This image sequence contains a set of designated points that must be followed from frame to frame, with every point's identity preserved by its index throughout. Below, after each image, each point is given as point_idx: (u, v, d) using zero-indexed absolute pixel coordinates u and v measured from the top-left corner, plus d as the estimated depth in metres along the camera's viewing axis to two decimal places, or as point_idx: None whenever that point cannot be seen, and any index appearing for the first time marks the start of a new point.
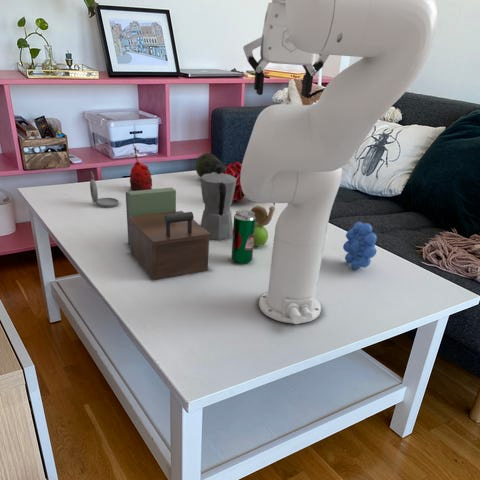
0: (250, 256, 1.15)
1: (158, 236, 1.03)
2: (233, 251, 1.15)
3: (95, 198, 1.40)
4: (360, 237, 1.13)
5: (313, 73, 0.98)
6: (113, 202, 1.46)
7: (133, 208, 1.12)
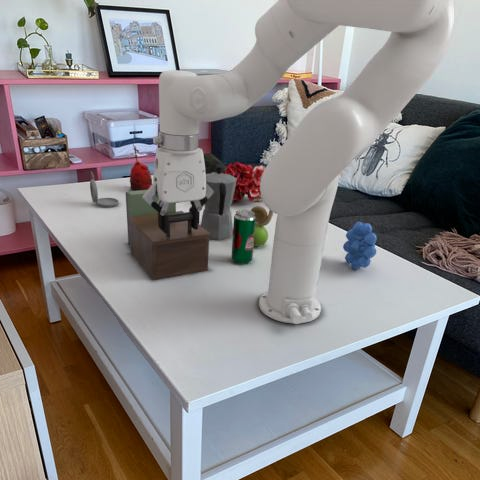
0: (250, 256, 1.15)
1: (158, 236, 1.03)
2: (233, 251, 1.15)
3: (95, 198, 1.40)
4: (360, 237, 1.13)
5: (199, 209, 1.03)
6: (113, 202, 1.46)
7: (133, 208, 1.12)
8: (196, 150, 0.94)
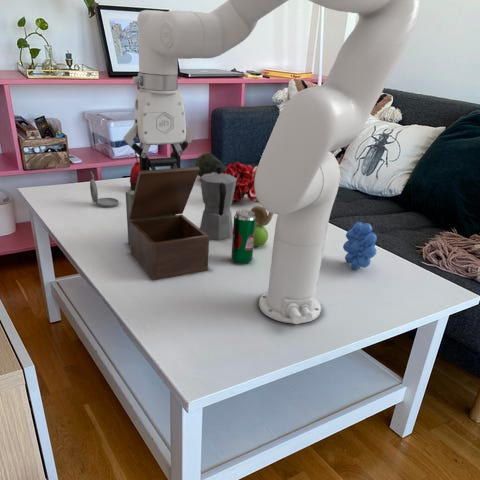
0: (250, 256, 1.15)
1: None
2: (233, 251, 1.15)
3: (95, 198, 1.40)
4: (360, 237, 1.13)
5: (180, 153, 1.06)
6: (113, 202, 1.46)
7: None
8: (175, 91, 0.97)
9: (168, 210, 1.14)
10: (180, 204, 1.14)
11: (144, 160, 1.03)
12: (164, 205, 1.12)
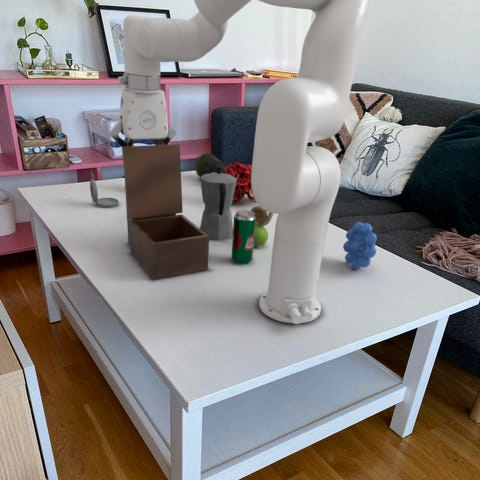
0: (250, 256, 1.15)
1: None
2: (233, 251, 1.15)
3: (95, 198, 1.40)
4: (360, 237, 1.13)
5: None
6: (113, 202, 1.46)
7: None
8: (157, 91, 1.05)
9: (166, 206, 1.15)
10: (176, 197, 1.15)
11: None
12: (159, 197, 1.13)
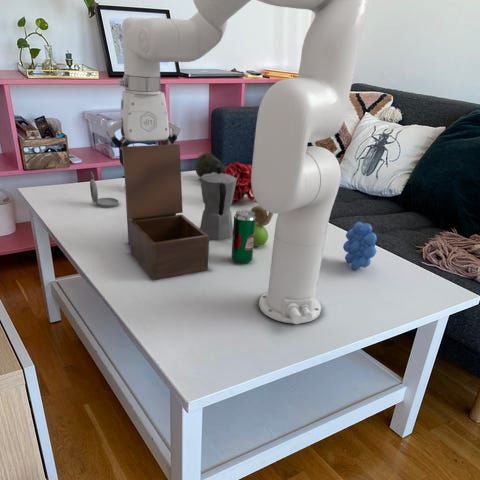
0: (250, 256, 1.15)
1: None
2: (233, 251, 1.15)
3: (95, 198, 1.40)
4: (360, 237, 1.13)
5: None
6: (113, 202, 1.46)
7: None
8: (158, 92, 1.05)
9: (166, 206, 1.15)
10: (176, 197, 1.15)
11: None
12: (159, 197, 1.13)
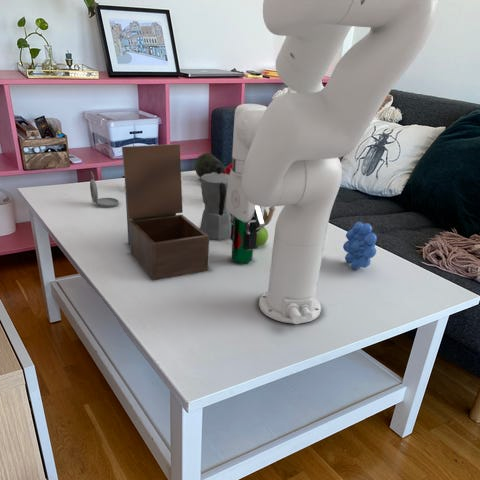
0: (250, 256, 1.15)
1: None
2: (233, 251, 1.15)
3: (95, 198, 1.40)
4: (360, 237, 1.13)
5: (247, 232, 1.10)
6: (113, 202, 1.46)
7: None
8: None
9: (166, 206, 1.15)
10: (176, 197, 1.15)
11: None
12: (159, 197, 1.13)
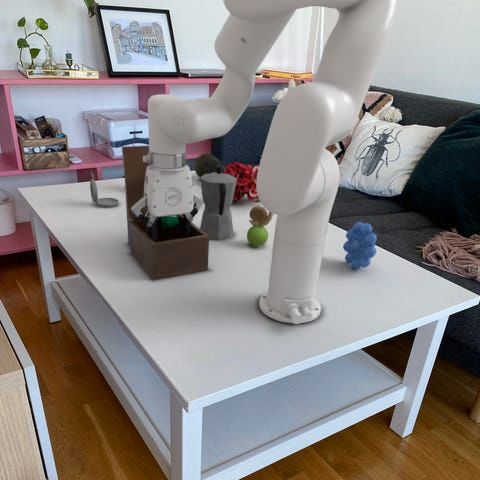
0: None
1: None
2: None
3: (95, 198, 1.40)
4: (360, 237, 1.13)
5: (190, 219, 1.10)
6: (113, 202, 1.46)
7: None
8: (183, 168, 1.01)
9: None
10: None
11: (150, 229, 1.06)
12: None
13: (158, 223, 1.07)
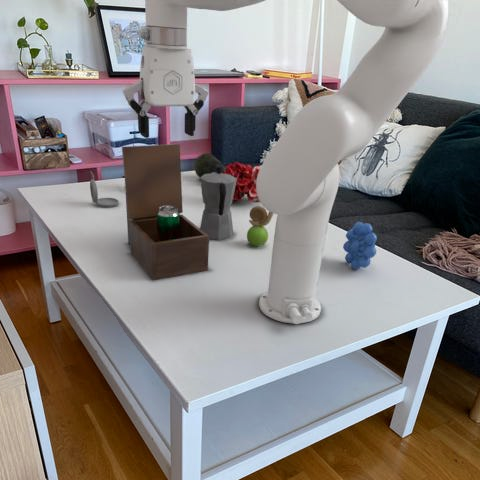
0: None
1: None
2: None
3: (95, 198, 1.40)
4: (360, 237, 1.13)
5: (195, 112, 0.99)
6: (113, 202, 1.46)
7: None
8: (184, 47, 0.90)
9: None
10: (176, 197, 1.15)
11: (143, 119, 0.94)
12: (159, 197, 1.13)
13: (158, 223, 1.07)
